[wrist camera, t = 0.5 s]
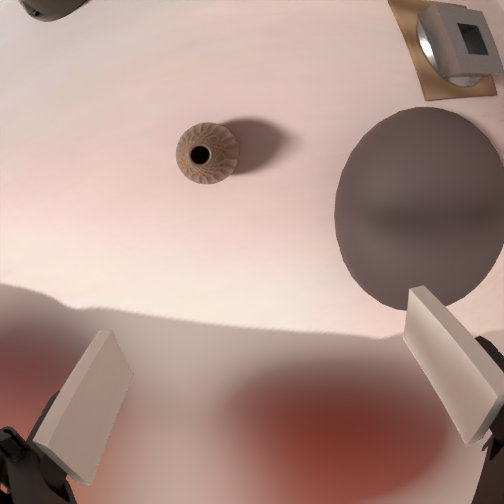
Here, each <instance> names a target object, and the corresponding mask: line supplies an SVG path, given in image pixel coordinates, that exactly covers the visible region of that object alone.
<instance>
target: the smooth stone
mask: <svg viewBox="0 0 504 504" xmlns="http://www.w3.org/2000/svg"><path fill="white" fill-rule="evenodd" d="M334 218H335V228H336V237H337V240H338V244H339V247H340V251H341V254H342V258H343V261H344V263H345V264H346V266H347V268H348V270H349V272H350V274H351V276H352V277H353V278H354V280H355V281H356V282H357V283H358V284H359V285H360V287H361V288H362V289H363V290H364V291H365V292H367V293H368V294H369V295H371V296H372V297H373V298H375V299H376V300H377V301H379V302H380V303H382V304H384V305H387V306H389V307H392V308H394V309H398V310H405V311H407V306H408V298H409V289H410V288H414V287H419V286H423V285H424V286H425V287H426V288H427V289H428V290H429V291H430V292H431V293H432V294H433V295H434V296H435V297H436V298H437V299H438V300H439V301H440V302H441V303H442V304H443V305H444V306H448V305H450V304H452V303H454V302H456V301H458V300H460V299H462V298H463V297H465V296H466V295H467V294H469V293H470V292H471V291H472V290H474V289H475V288H476V287H477V286H478V285H479V284H480V283H481V282H482V281H483V279H484V278H485V277H486V276H487V274H488V273H489V272H490V270H491V269H492V267H493V266H494V264H495V262H496V260H497V258H498V256H499V254H500V252H501V250H502V247H503V244H504V167H503V165H502V162H501V160H500V158H499V155H498V153H497V151H496V150H495V148H494V147H493V145H492V144H491V142H490V141H489V139H488V138H487V137H486V136H485V135H484V134H483V133H482V132H481V131H480V130H479V129H478V128H477V127H476V126H475V125H473V124H472V123H471V122H470V121H468V120H467V119H465V118H463V117H462V116H460V115H458V114H456V113H453V112H450V111H446V110H443V109H439V108H433V107H415V108H411V109H407V110H403V111H399V112H397V113H396V114H394V115H392V116H390V117H388V118H386V119H384V120H383V121H381V122H379V123H378V124H377V125H375V126H374V127H373V128H372V129H371V130H370V131H369V132H368V133H366V134H365V135H364V136H363V137H362V139H361V140H360V142H359V143H358V144H357V146H356V147H355V148H354V150H353V151H352V152H351V154H350V156H349V159H348V161H347V163H346V165H345V167H344V169H343V171H342V174H341V178H340V181H339V185H338V189H337V192H336V201H335V212H334Z"/></svg>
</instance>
